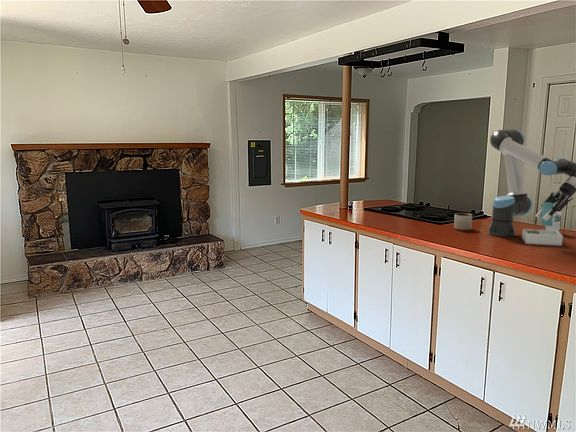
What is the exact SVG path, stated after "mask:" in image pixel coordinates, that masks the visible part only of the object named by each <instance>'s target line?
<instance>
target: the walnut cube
mask: <svg viewBox="0 0 576 432" xmlns="http://www.w3.org/2000/svg"><path fill="white" fill-rule="evenodd" d="M528 234H540V233H539V231H528Z"/></svg>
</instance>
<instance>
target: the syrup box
mask: <svg viewBox="0 0 576 432" xmlns="http://www.w3.org/2000/svg"><path fill="white" fill-rule="evenodd" d="M562 210H563V209H562ZM562 210H561V211H560V212H559V211H557V212H555V213H554V214H553V218H552V225H551V226H545V230H557V231H558V232H559V233H560V234H561V227H562V215H563V214H562V213H563V211H562Z"/></svg>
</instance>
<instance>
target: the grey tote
mask: <svg viewBox="0 0 576 432" xmlns="http://www.w3.org/2000/svg"><path fill="white" fill-rule="evenodd" d="M528 231H539V233H540V234H528ZM563 237H564V236H563V234H561V232H560V233H559V232H558V231H557V230H546V229H535V228H534V229H533V228H522V235H521V239H522V241H523V242H524V243H525V244H526V245H527V244H528V245H543V246H557V247H558V246H559V247H560V246H561V247H562V246H563Z"/></svg>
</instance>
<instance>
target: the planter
mask: <svg viewBox="0 0 576 432" xmlns="http://www.w3.org/2000/svg"><path fill="white" fill-rule="evenodd" d="M453 225H454V226H453V228H454V229H456V230H458V231H470V230H472V227H473V214H472V213H465V212H464V213H462V212H458V213H455V214H454V223H453Z"/></svg>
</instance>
